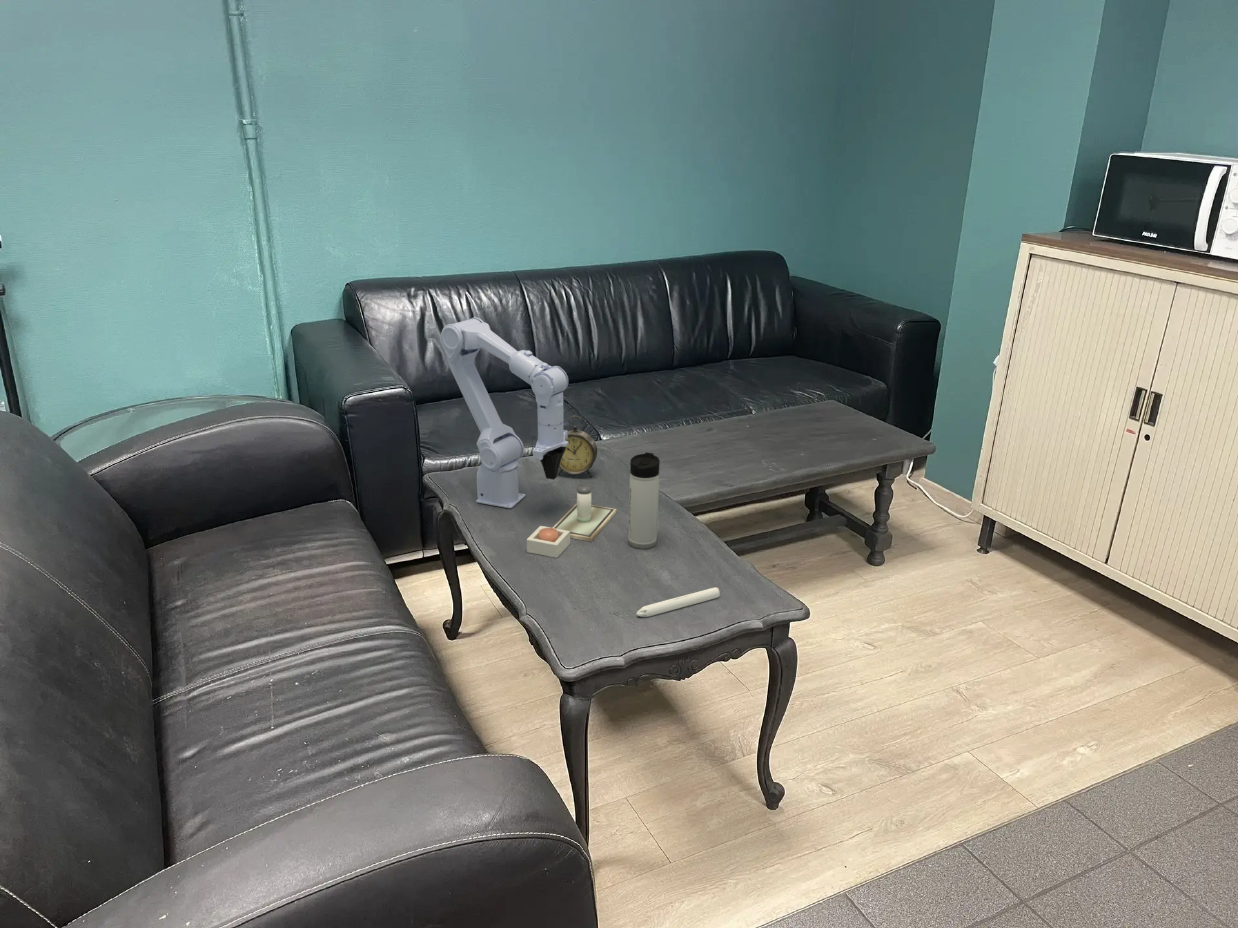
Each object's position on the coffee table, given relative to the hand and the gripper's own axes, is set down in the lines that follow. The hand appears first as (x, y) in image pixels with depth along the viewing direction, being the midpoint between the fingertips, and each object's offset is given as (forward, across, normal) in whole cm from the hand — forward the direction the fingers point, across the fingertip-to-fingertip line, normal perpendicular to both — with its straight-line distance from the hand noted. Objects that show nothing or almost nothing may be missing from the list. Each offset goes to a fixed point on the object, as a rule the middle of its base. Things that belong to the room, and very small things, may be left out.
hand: (551, 477), depth 196 cm
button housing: (+9, -15, -6) cm, 19 cm away
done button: (+9, -15, -6) cm, 18 cm away
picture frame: (+9, -1, -8) cm, 13 cm away
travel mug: (+10, -5, -24) cm, 26 cm away
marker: (+10, -27, -38) cm, 48 cm away
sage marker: (+9, -1, -8) cm, 12 cm away
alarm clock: (+10, +24, +4) cm, 26 cm away
